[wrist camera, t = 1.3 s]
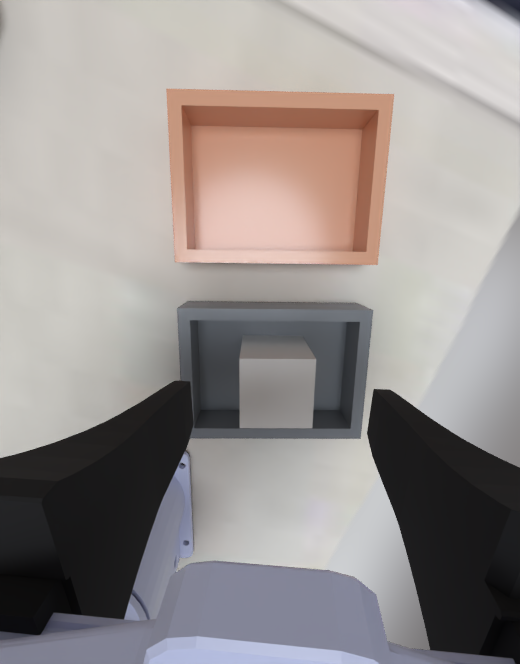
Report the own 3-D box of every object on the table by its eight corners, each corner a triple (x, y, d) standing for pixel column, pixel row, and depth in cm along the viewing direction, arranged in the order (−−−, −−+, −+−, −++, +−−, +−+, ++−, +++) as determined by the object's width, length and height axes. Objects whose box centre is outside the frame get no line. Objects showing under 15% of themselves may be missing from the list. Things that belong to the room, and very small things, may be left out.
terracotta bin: (360, 263, 21) (377, 264, 18) (186, 261, 20) (174, 262, 17) (372, 119, 19) (393, 94, 16) (180, 115, 18) (166, 88, 16)
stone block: (299, 390, 22) (312, 428, 17) (242, 390, 22) (239, 428, 17) (301, 335, 21) (316, 359, 16) (242, 335, 21) (239, 358, 16)
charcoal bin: (347, 415, 23) (360, 438, 20) (192, 415, 23) (183, 438, 20) (356, 302, 21) (373, 310, 18) (188, 301, 21) (177, 308, 18)
